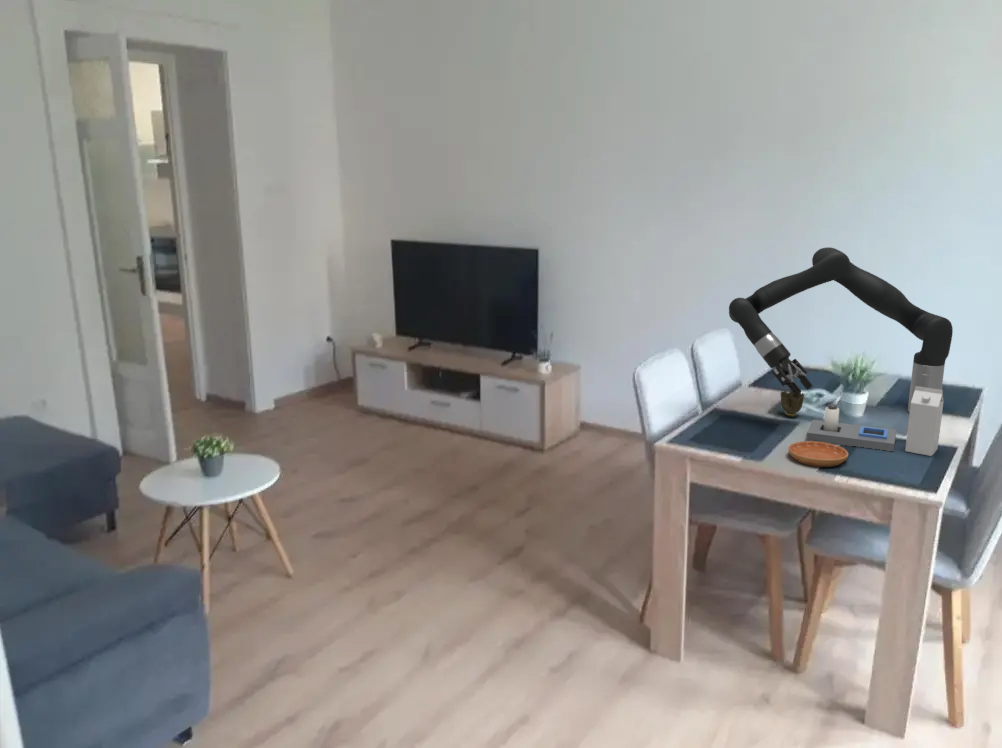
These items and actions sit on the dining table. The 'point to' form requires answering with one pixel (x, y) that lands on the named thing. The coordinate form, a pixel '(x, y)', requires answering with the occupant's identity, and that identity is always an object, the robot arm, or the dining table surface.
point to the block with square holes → (853, 436)
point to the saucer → (818, 453)
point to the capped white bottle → (831, 418)
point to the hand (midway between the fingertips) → (804, 390)
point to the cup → (791, 403)
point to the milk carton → (924, 421)
